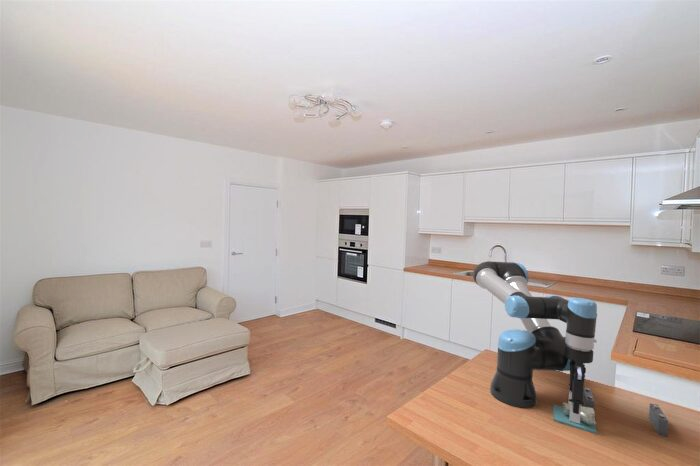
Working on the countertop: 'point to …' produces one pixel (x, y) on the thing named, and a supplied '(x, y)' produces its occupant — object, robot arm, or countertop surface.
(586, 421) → the pipe fitting
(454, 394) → the countertop surface
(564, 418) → the mat
